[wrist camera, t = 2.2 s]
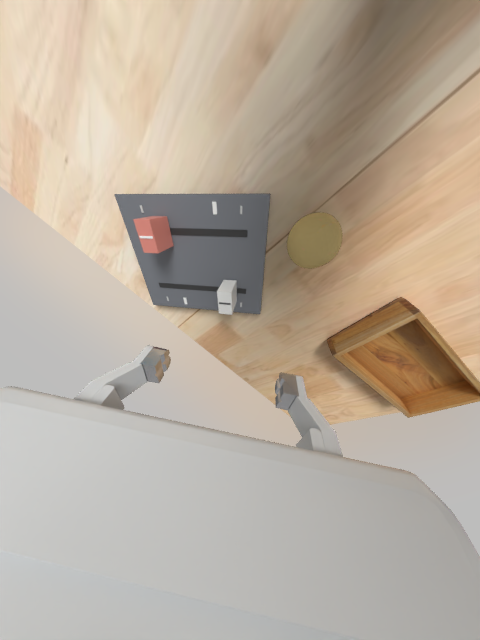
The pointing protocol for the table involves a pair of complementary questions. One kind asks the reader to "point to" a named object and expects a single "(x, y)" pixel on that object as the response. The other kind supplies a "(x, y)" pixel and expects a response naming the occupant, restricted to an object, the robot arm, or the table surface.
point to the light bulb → (314, 240)
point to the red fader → (154, 233)
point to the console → (202, 247)
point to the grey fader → (227, 296)
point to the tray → (405, 360)
